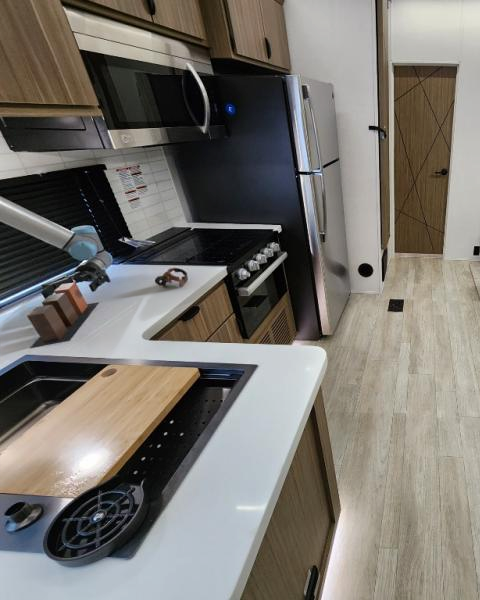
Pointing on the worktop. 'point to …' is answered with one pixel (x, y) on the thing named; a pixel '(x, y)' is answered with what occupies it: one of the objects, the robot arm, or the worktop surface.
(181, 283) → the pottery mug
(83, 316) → the dark gray mat
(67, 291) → the terracotta toy brick
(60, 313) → the brown wooden block
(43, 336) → the dark brown cuboid
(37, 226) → the robot arm
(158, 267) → the worktop surface
